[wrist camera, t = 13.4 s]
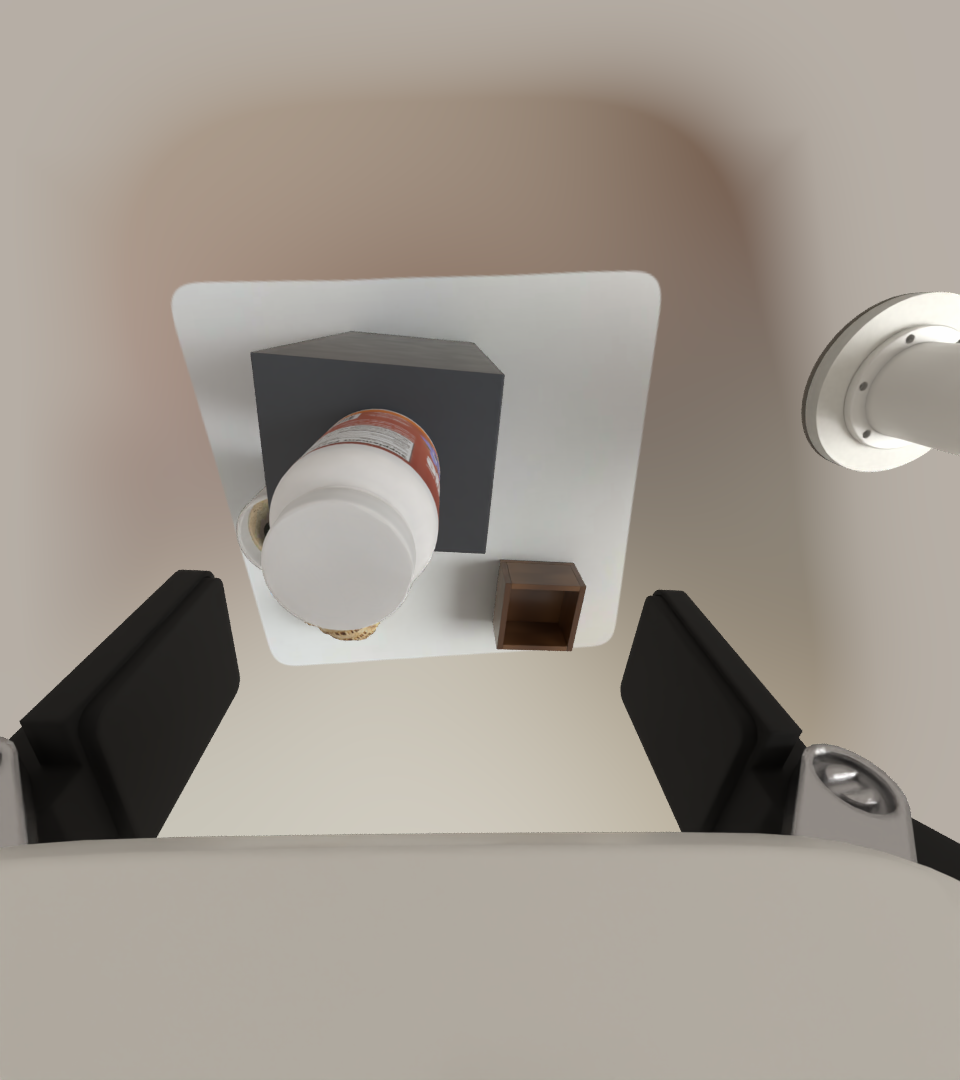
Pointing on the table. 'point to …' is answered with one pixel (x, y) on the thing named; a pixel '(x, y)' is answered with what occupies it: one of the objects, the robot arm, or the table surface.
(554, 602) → the wooden box
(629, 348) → the table surface
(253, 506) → the mug
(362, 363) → the block
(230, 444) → the table surface
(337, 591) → the pill bottle
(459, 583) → the table surface
